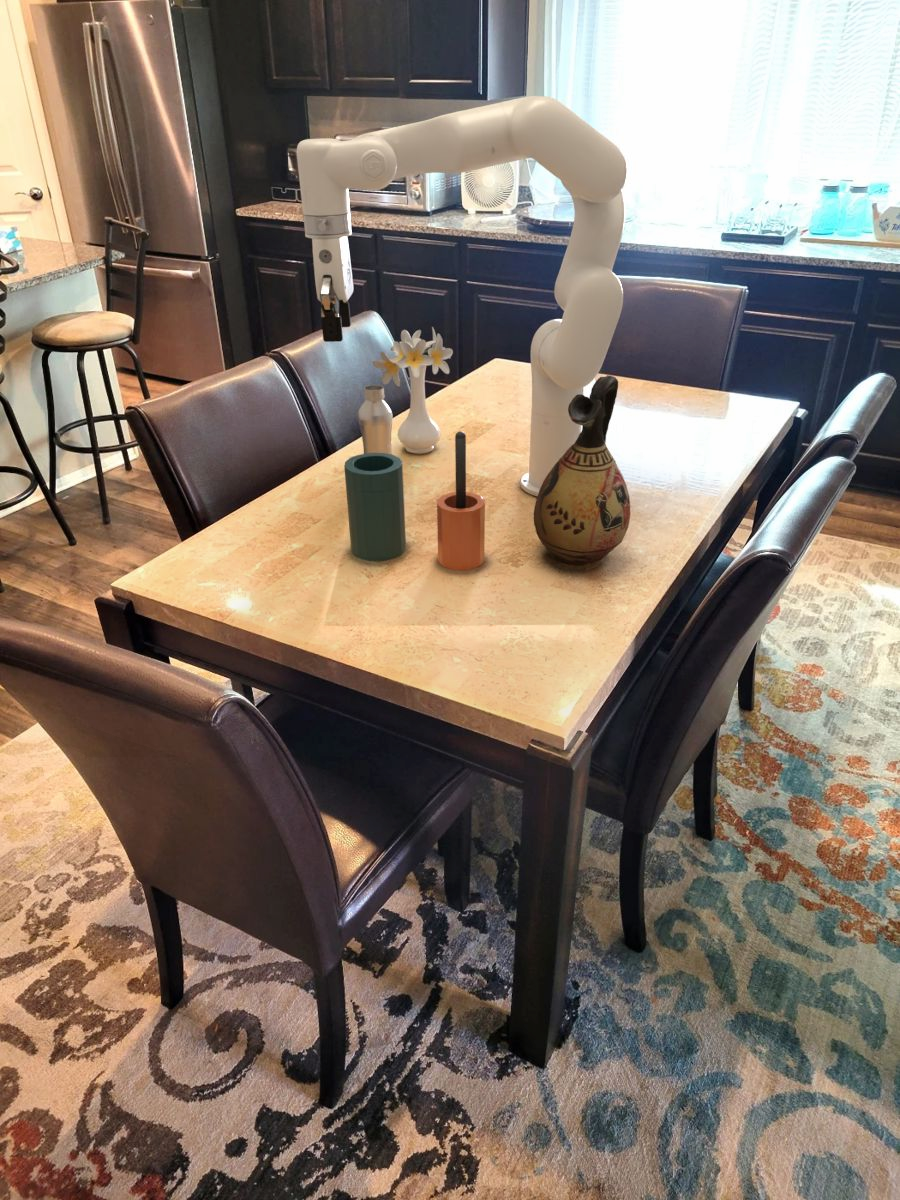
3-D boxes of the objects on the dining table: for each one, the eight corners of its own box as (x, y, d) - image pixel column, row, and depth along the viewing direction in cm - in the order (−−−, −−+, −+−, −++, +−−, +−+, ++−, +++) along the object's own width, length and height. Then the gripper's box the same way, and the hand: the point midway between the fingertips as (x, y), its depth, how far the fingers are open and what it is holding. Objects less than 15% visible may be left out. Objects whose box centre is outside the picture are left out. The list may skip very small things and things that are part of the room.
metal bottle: (392, 495, 164) (387, 393, 154) (358, 492, 166) (351, 392, 155) (400, 482, 170) (396, 383, 160) (368, 480, 171) (361, 381, 161)
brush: (470, 554, 142) (470, 428, 131) (470, 563, 139) (471, 435, 128) (451, 554, 142) (450, 428, 131) (451, 563, 139) (449, 435, 128)
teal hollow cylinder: (407, 538, 148) (403, 452, 140) (404, 564, 141) (400, 474, 132) (354, 539, 149) (348, 452, 140) (348, 564, 141) (341, 474, 132)
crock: (483, 551, 144) (484, 491, 139) (484, 573, 138) (485, 511, 132) (438, 551, 144) (437, 491, 139) (437, 573, 138) (436, 512, 132)
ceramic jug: (603, 589, 133) (620, 402, 117) (515, 565, 140) (521, 385, 124) (643, 546, 145) (663, 371, 129) (560, 526, 152) (571, 358, 137)
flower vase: (371, 459, 181) (363, 340, 168) (415, 432, 194) (411, 320, 181) (423, 470, 175) (420, 347, 162) (466, 441, 189) (465, 326, 176)
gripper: (343, 233, 129) (352, 346, 138) (357, 218, 144) (365, 321, 153) (294, 234, 130) (306, 347, 139) (313, 219, 144) (324, 322, 153)
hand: (337, 333), depth 146 cm, fingers open, 9 cm apart
